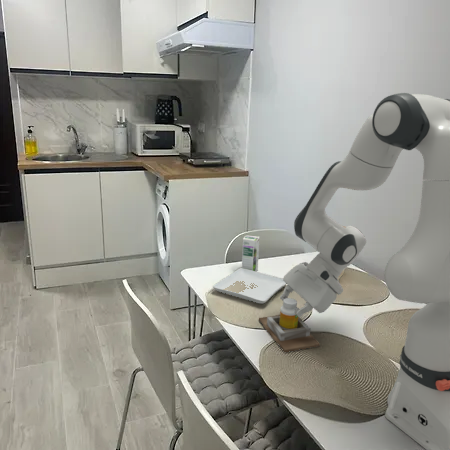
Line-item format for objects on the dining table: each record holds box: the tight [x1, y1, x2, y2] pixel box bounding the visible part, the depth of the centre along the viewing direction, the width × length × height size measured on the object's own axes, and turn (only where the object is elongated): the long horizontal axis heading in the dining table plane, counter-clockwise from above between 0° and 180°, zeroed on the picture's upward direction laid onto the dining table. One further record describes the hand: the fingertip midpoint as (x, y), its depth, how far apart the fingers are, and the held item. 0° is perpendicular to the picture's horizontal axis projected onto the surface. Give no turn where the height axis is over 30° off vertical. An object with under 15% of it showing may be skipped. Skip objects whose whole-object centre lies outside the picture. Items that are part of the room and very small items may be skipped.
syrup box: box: [241, 234, 261, 272], centre depth 167 cm, size 6×6×14 cm
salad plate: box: [212, 267, 287, 304], centre depth 152 cm, size 21×21×3 cm
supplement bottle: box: [279, 297, 299, 330], centre depth 123 cm, size 5×5×10 cm
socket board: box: [258, 314, 320, 353], centre depth 125 cm, size 18×11×4 cm, turn 19°
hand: (289, 307), depth 122 cm, fingers open, 8 cm apart
